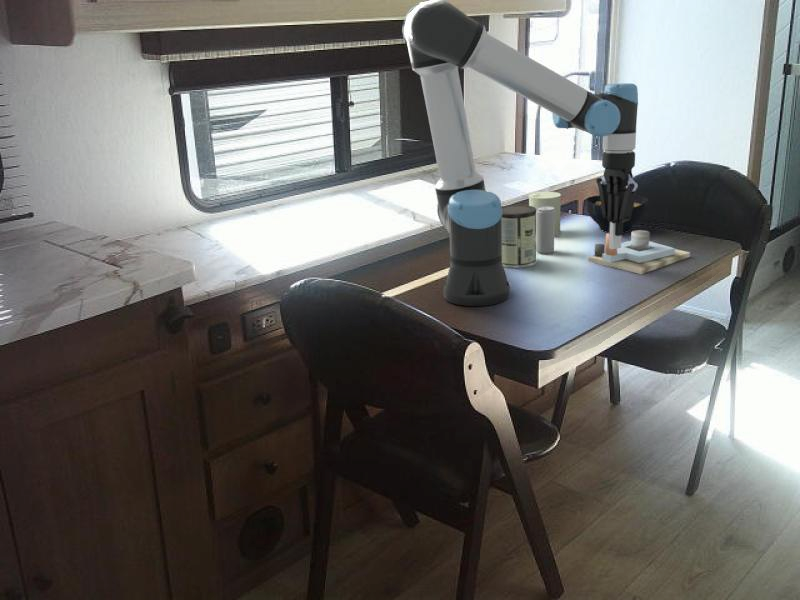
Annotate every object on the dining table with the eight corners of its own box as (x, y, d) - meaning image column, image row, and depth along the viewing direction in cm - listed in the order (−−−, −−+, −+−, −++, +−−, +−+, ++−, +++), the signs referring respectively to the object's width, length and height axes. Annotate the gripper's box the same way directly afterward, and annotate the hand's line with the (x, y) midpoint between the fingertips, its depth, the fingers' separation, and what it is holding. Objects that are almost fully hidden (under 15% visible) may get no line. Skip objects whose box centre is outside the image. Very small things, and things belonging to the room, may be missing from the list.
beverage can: (553, 249, 215) (553, 205, 211) (554, 254, 211) (555, 210, 207) (535, 249, 216) (535, 206, 212) (536, 254, 211) (536, 210, 208)
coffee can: (505, 255, 213) (505, 203, 208) (542, 259, 208) (542, 206, 203) (489, 265, 204) (488, 212, 200) (527, 270, 199) (527, 215, 195)
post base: (641, 274, 191) (642, 246, 189) (588, 261, 203) (589, 234, 201) (689, 256, 203) (691, 230, 200) (637, 245, 215) (638, 220, 212)
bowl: (649, 236, 222) (651, 201, 219) (587, 237, 225) (587, 202, 222) (642, 222, 238) (644, 189, 235) (583, 222, 241) (584, 190, 238)
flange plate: (639, 244, 210) (640, 220, 208) (674, 254, 200) (676, 228, 198) (590, 255, 203) (590, 230, 201) (623, 266, 193) (624, 240, 190)
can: (523, 232, 234) (523, 192, 230) (551, 228, 237) (551, 188, 233) (537, 239, 226) (537, 197, 222) (566, 235, 228) (567, 194, 224)
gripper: (650, 151, 184) (645, 250, 191) (613, 147, 195) (609, 241, 202) (625, 154, 181) (621, 255, 188) (588, 150, 192) (586, 245, 199)
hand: (615, 247), depth 195 cm, fingers closed
